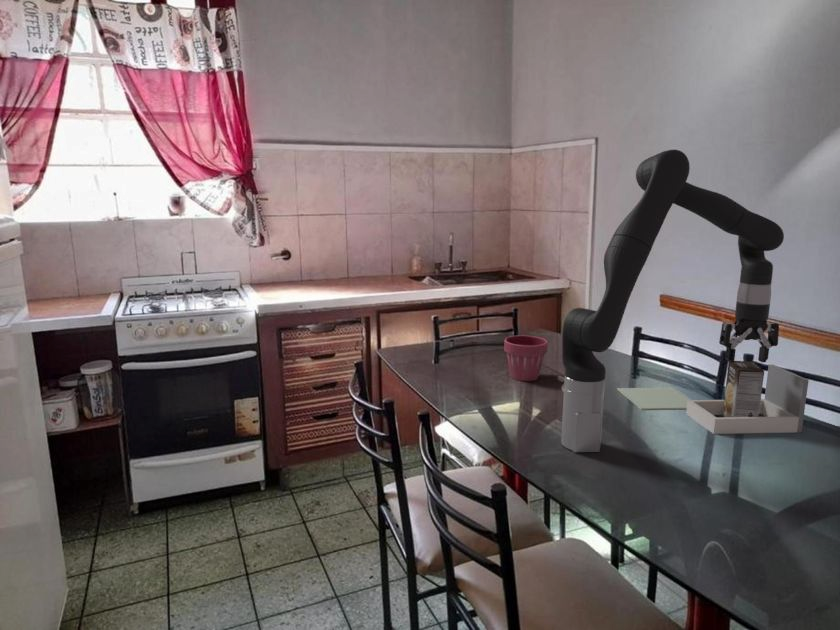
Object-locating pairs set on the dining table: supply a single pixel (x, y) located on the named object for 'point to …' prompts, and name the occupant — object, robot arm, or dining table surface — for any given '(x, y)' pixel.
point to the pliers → (562, 381)
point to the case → (778, 407)
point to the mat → (655, 398)
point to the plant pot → (525, 356)
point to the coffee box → (743, 389)
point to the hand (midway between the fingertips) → (746, 361)
